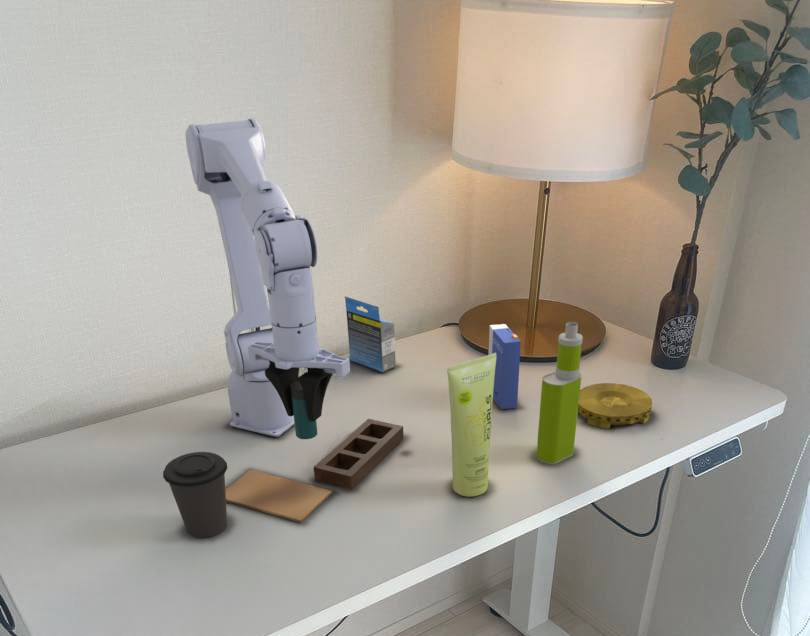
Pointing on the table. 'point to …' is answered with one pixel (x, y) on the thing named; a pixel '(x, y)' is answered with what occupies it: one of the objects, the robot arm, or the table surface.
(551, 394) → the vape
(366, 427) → the pen stand
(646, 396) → the yellow flat disc
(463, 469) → the tube
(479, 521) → the table surface
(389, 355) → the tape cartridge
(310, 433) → the teal capped bottle
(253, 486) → the cork mat
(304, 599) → the table surface
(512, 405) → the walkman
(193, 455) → the coffee cup
